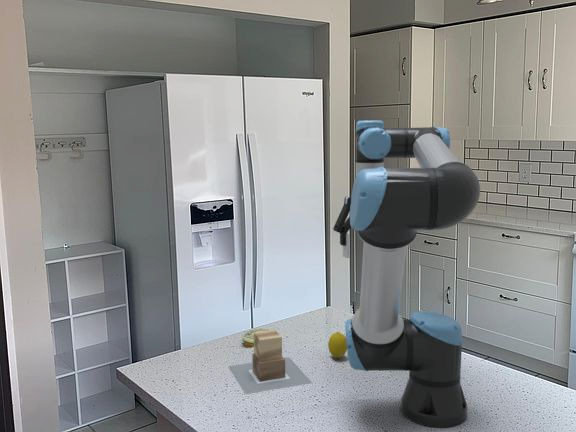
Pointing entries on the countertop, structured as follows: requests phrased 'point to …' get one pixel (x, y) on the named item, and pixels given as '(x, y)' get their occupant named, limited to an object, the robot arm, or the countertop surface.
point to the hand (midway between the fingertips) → (368, 255)
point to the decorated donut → (251, 337)
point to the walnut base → (268, 368)
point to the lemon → (337, 344)
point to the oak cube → (267, 345)
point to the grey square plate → (253, 384)
